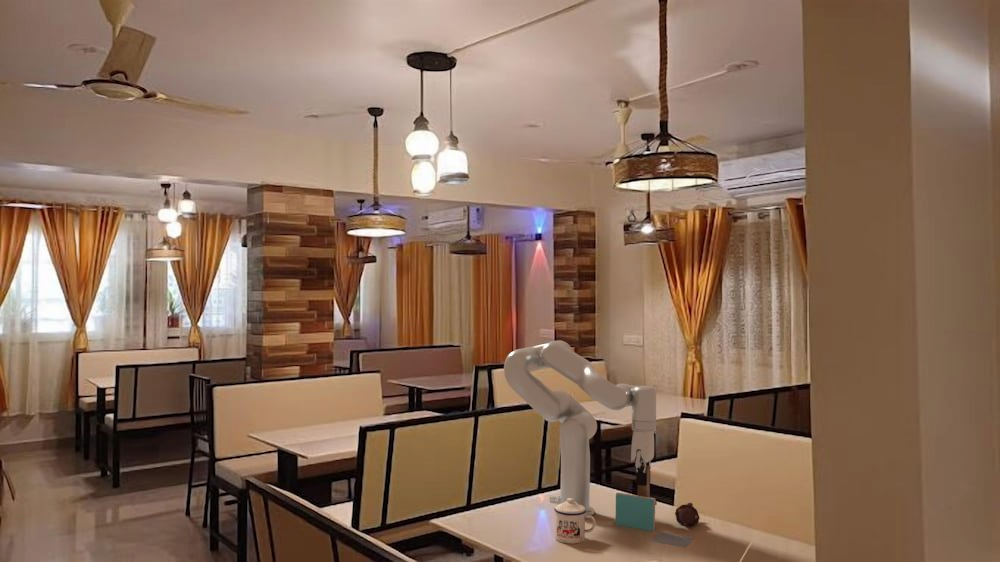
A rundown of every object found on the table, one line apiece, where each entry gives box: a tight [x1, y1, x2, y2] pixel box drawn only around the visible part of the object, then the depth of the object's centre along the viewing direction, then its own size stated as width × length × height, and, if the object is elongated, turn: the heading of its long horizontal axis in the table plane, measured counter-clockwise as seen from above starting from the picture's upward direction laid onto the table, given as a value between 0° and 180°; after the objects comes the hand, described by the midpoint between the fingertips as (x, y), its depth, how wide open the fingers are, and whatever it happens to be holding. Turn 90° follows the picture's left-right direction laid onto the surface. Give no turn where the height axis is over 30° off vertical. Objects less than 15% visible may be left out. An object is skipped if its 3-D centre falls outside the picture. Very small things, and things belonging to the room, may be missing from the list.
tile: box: [614, 492, 656, 532], centre depth 220 cm, size 12×2×10 cm, turn 61°
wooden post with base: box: [636, 465, 657, 506], centre depth 226 cm, size 7×5×12 cm
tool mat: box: [651, 531, 694, 548], centre depth 209 cm, size 10×9×1 cm
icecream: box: [674, 502, 701, 527], centre depth 223 cm, size 7×7×15 cm
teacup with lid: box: [554, 498, 597, 545], centre depth 209 cm, size 12×9×12 cm
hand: (643, 483), depth 226 cm, fingers closed on wooden post with base, 3 cm apart
